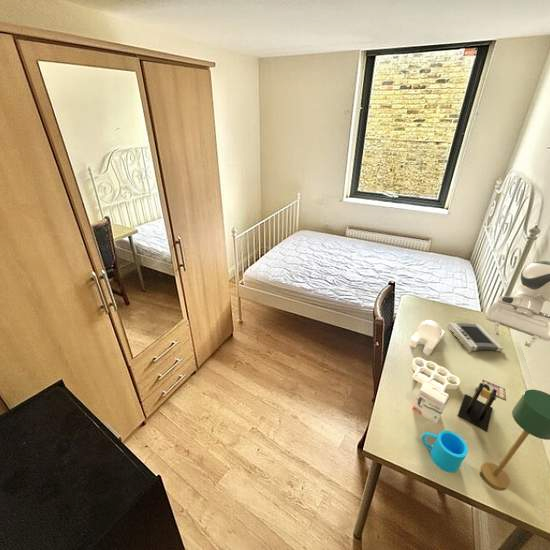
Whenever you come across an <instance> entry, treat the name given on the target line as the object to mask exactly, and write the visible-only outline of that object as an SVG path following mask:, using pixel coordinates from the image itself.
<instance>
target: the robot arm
mask: <svg viewBox="0 0 550 550" xmlns="http://www.w3.org/2000/svg"><path fill="white" fill-rule="evenodd" d="M516 290H517V291H516V292H515V293H514V295H513V296H505V295H504V296H503V295H502V296H499V297H497V299H496V300H495V302H494V303H493V304H492V305H490V307H489V309H488V310H487V312H486V314H485V316H484V317H485V320H487V321H489V322H492V323H493V327H494V333H493V335H495V336H497V337H498V336H500V334H501V330H499V326H503V327H506V328H509V329H511V330H514V331H517V332H520V333H523V334H526V335H529V336H532V337H531V340H526V341H525V343H524V346H525V347H527V348H531V346H532V344H533V343H535V342H536V341H538V340H542V341H545V342H550V314H547V313H544V312H542V309H543V306H544V303H545V302H549V303H550V261H547V260H538V261H535V262H531V263H529V264H528V265H525V267H524V268H523V269H522V271H521V272H520V280H519V282H518V285H517V289H516Z"/></svg>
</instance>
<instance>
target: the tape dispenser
mask: <svg viewBox="0 0 550 550" xmlns="http://www.w3.org/2000/svg"><path fill="white" fill-rule="evenodd" d="M445 332H446V331H445V330H444V329H442V327H441V325H440V324H439V323H438V322H436V321H434V320H431V319H426V320H423V321H422V322H421V323H420V324H419V325H418V326H417V329H416V331H415V333H414V334H413V335H412V336H411V337H410V340H409V342H408V343H409V344H408V345H409V346H410V347H412V348H413V349H415V348H416V347H417V346H418V345H419V343H420V345H423V346H424V347H423V349H422V353H423V354H426V355H428V356H429V355H431V354H432V353H433V351H434V350H435V349H436V347H437V346H438V345H439V343H440V342H441V341H442V339H443V337H444V335H445Z"/></svg>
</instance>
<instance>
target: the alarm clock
mask: <svg viewBox="0 0 550 550" xmlns="http://www.w3.org/2000/svg"><path fill="white" fill-rule="evenodd" d="M447 328H448V330H449V329H450V330H451V331H452V332H453V333H454V334H453V333H452V332H451V331H450V330H449V331H450V332H451V333H452V334H453V335H454V337H455V336H456V337H457V338H458V339H459V340H458V339H457V338H456V337H455V338H456V339H457V340H458V341H459V342H460V344H461V345H462V344H463V345H462V346H463V347H464V348H465V349H466V350H467V352H468V353H472V352H475V351H479V350H481V351H482V350H490V351H491V350H493V351H495V352H502V351H503V350H504V347H503V346H502V345H501V344H500V343H499V342H498V341H497V340H496V339H495V338H494V337H493V336H492V335H491V334H490V333H489V332H487V330H485V329H484V328H483V326H481V324H478V323H474V324H473V323H467V322H466V323H465V322H459V323H458V322H457V323H456V322H451V321H450V322H449V324H448V326H447Z"/></svg>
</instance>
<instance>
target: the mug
mask: <svg viewBox="0 0 550 550" xmlns="http://www.w3.org/2000/svg"><path fill="white" fill-rule="evenodd" d="M426 437H431V438H435V439H434V442H433V445H431V444H430V443H428V442H427V440H426V439H425V438H426ZM420 438H421V442H422V443H423V445H424V446H425V447H426V448H427V449H428V450H430V452H429V453H430V454H429V455H430V458H431V460H432V462H433V463H434V465H436V466H437V467H438V468H439V469H441V470H442V471H444V472H447V473H455V472H457V471H458V470H459V469H460V467H461V465H462V463H463V462H464V460H465V459H466V457H467V455H468V452H469V447H468V444H467V443H466V441H465V439H463V438H462V437H461V435H459V434H457V433H456V432H453V431H452V430H451V431H450V430H441V431H439V433H438V434H437V433H433V432H428V431H427V432H423V433H422V434H421V436H420Z"/></svg>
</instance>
